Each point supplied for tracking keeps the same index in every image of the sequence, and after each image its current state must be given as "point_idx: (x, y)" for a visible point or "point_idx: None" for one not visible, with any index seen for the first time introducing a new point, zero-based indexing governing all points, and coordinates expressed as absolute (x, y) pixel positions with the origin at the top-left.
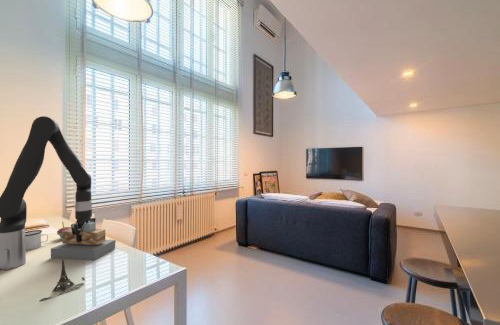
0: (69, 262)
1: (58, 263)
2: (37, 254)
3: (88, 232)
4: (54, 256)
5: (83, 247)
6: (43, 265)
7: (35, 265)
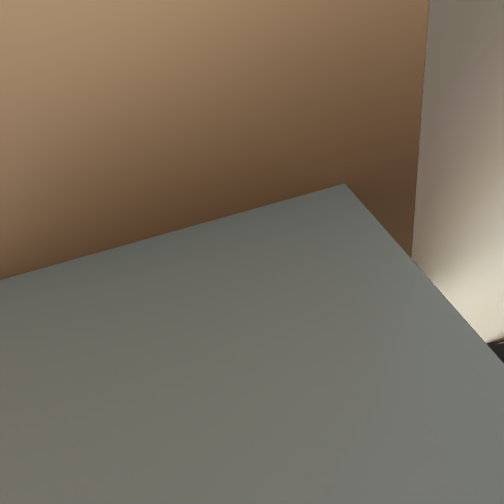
0: (439, 36)
1: (461, 138)
2: None
3: (409, 170)
4: None
5: None
6: (495, 220)
7: (489, 274)
